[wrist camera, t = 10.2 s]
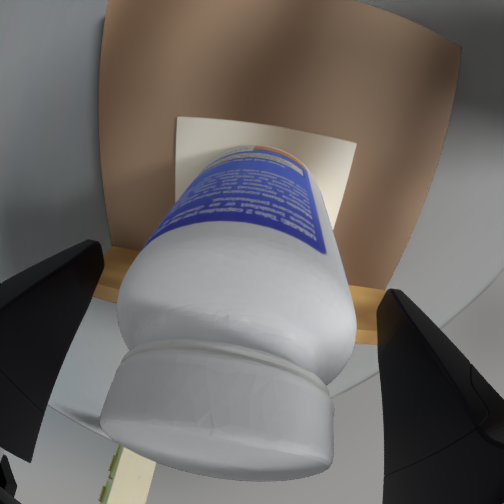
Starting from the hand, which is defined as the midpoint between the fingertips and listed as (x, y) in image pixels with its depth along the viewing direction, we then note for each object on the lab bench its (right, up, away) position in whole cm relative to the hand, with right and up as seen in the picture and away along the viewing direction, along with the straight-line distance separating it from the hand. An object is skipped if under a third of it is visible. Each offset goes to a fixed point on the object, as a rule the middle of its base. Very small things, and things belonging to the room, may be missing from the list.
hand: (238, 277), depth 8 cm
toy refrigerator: (-21, -34, +34) cm, 52 cm away
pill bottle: (+1, +3, +4) cm, 5 cm away
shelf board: (+1, +6, +4) cm, 7 cm away
